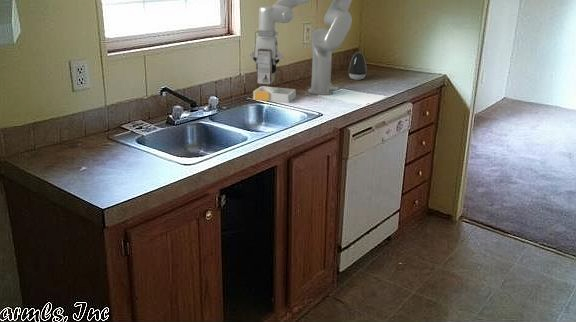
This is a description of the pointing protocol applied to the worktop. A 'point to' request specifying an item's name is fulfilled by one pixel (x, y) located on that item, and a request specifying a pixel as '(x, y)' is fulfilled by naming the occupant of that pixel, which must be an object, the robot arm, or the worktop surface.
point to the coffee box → (265, 66)
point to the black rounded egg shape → (357, 67)
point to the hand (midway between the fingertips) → (266, 71)
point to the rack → (274, 94)
